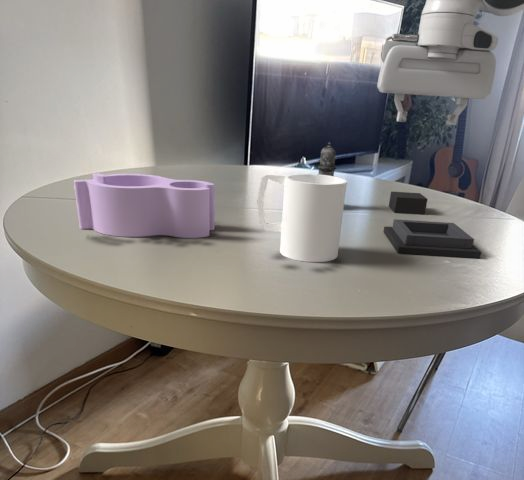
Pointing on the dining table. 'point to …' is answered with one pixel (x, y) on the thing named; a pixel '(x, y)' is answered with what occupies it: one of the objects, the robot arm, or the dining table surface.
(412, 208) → the black pad
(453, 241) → the base pad
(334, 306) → the dining table surface
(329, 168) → the salt shaker
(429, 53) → the robot arm
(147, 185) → the purple hollow rounded tray
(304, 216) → the cup
